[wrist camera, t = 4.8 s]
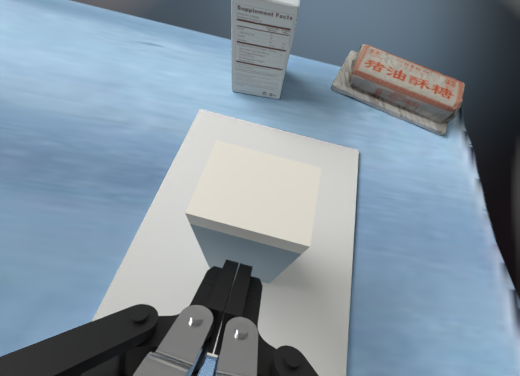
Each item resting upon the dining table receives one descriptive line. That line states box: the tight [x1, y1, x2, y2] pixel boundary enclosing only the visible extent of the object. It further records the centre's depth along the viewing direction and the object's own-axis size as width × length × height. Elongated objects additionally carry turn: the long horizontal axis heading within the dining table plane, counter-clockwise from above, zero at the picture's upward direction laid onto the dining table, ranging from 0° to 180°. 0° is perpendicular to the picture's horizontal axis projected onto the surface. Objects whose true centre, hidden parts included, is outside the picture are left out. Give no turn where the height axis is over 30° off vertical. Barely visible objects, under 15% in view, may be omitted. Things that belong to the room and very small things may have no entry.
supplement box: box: [231, 0, 300, 99], centre depth 32 cm, size 7×7×13 cm
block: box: [185, 140, 321, 284], centre depth 19 cm, size 6×4×14 cm
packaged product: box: [331, 44, 465, 136], centre depth 38 cm, size 18×5×10 cm
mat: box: [92, 109, 359, 376], centre depth 27 cm, size 22×26×1 cm
